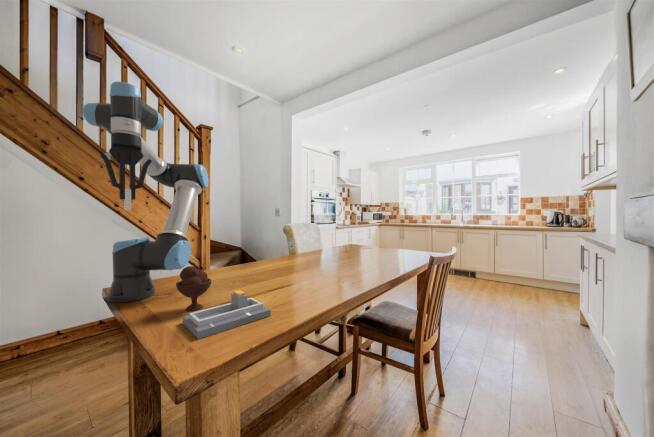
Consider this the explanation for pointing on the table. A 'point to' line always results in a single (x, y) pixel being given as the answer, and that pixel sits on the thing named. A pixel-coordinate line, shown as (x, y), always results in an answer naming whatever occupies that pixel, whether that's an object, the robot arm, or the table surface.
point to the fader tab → (238, 300)
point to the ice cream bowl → (193, 285)
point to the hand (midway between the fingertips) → (127, 210)
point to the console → (224, 318)
